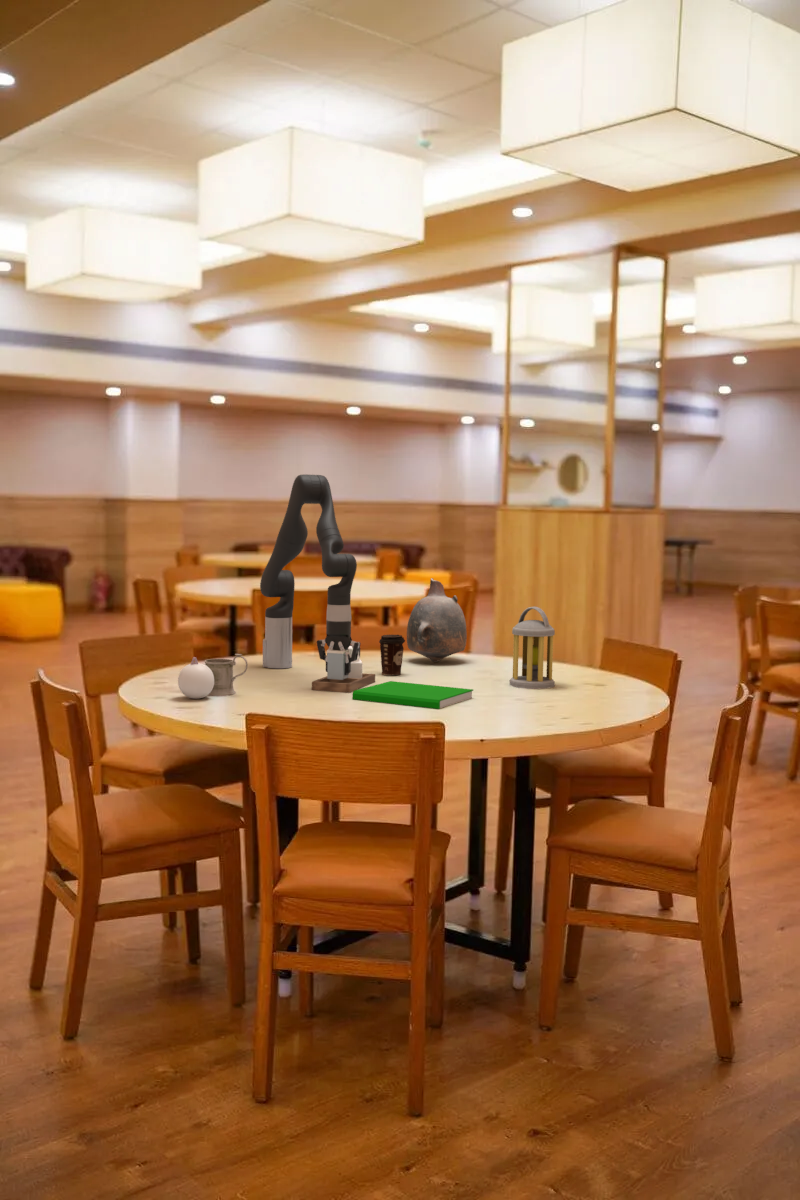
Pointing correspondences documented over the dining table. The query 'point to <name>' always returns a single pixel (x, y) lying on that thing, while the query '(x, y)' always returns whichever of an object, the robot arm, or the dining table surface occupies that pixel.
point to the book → (412, 694)
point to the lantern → (533, 652)
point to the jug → (436, 625)
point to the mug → (223, 675)
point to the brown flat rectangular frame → (343, 683)
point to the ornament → (196, 680)
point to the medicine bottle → (355, 666)
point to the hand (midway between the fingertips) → (338, 674)
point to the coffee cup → (391, 654)
